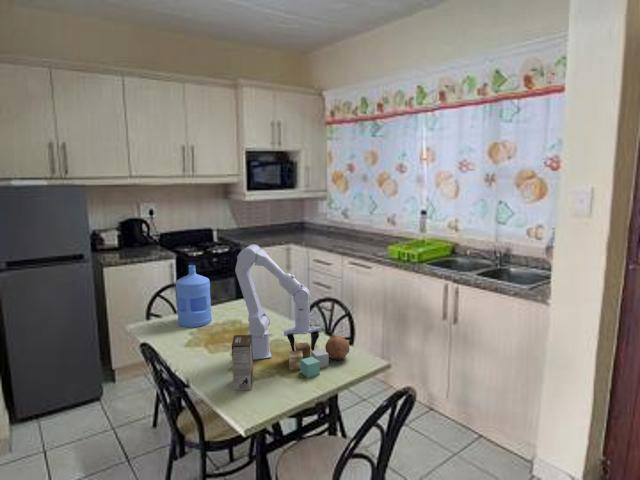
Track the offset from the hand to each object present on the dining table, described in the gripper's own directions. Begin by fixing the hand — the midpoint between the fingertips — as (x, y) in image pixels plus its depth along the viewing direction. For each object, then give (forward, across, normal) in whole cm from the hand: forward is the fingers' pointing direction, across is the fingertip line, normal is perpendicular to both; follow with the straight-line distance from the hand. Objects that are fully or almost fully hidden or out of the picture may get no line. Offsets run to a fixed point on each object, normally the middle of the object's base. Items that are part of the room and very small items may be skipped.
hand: (302, 351), depth 172 cm
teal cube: (+3, 0, -14) cm, 14 cm away
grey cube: (+3, +5, -8) cm, 10 cm away
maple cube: (+3, -4, -7) cm, 9 cm away
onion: (+3, +13, -4) cm, 14 cm away
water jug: (+2, -43, +51) cm, 67 cm away
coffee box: (+3, -24, -16) cm, 29 cm away
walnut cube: (+3, 0, 0) cm, 3 cm away
